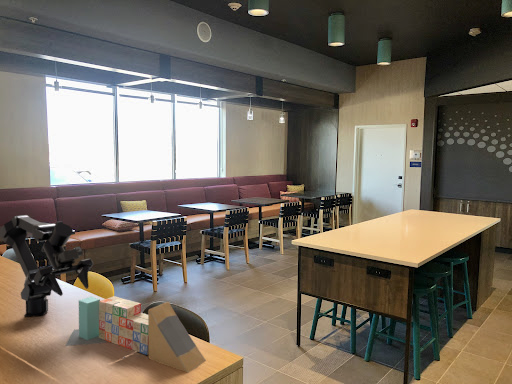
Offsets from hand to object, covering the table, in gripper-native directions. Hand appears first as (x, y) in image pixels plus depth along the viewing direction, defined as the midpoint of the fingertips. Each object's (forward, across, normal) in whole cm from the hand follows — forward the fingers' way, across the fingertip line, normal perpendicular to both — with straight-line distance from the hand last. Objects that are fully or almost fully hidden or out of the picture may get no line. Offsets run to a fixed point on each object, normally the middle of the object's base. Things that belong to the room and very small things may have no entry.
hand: (75, 291), depth 133 cm
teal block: (+15, 0, +4) cm, 15 cm away
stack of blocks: (+25, +5, -6) cm, 26 cm away
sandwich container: (+39, +6, -19) cm, 44 cm away
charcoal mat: (+15, 0, +4) cm, 16 cm away
